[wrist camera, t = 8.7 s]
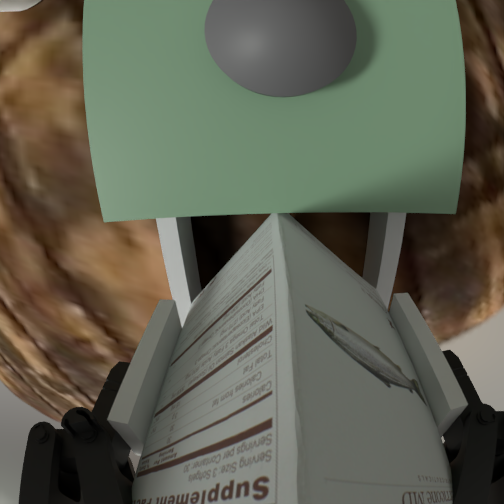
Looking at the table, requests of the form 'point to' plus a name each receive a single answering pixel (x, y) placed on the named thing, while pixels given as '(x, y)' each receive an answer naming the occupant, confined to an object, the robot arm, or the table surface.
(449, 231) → the table surface
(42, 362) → the table surface
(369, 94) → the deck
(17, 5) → the cup
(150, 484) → the supplement box
